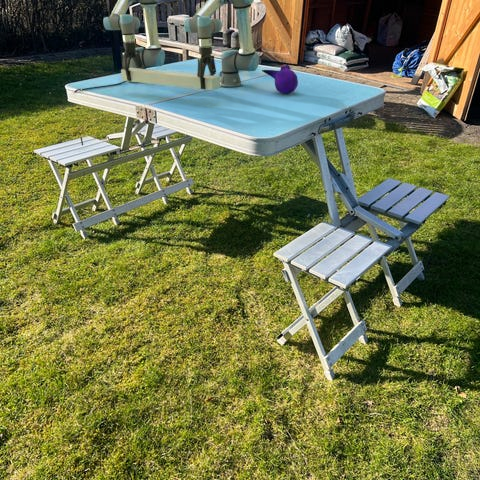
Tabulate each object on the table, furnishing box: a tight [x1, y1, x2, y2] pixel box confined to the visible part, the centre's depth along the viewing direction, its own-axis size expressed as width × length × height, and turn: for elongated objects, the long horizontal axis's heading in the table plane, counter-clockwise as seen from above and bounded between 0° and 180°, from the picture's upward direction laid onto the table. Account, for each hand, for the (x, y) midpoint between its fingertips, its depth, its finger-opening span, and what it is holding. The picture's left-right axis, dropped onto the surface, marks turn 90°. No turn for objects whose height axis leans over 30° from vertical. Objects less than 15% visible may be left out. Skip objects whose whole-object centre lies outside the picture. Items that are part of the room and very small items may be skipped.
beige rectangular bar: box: [120, 67, 222, 92], centre depth 279 cm, size 71×9×7 cm, turn 59°
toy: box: [261, 64, 299, 95], centre depth 294 cm, size 16×18×27 cm
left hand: (134, 79), depth 294 cm, fingers closed on beige rectangular bar, 9 cm apart
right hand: (207, 87), depth 268 cm, fingers closed on beige rectangular bar, 9 cm apart
